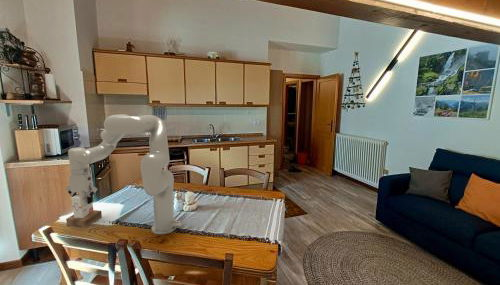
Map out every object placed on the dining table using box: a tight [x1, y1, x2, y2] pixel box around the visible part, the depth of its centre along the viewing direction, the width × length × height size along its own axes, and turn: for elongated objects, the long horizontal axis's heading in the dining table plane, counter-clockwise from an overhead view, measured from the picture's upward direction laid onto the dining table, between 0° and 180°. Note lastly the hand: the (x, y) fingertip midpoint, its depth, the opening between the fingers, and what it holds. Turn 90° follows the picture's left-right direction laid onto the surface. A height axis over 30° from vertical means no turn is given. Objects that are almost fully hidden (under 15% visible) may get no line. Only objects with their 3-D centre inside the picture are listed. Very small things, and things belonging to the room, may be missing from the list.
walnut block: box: [65, 209, 103, 229], centre depth 127 cm, size 11×11×4 cm
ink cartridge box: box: [70, 191, 94, 218], centre depth 125 cm, size 9×5×15 cm, turn 0°
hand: (83, 202), depth 125 cm, fingers open, 7 cm apart
